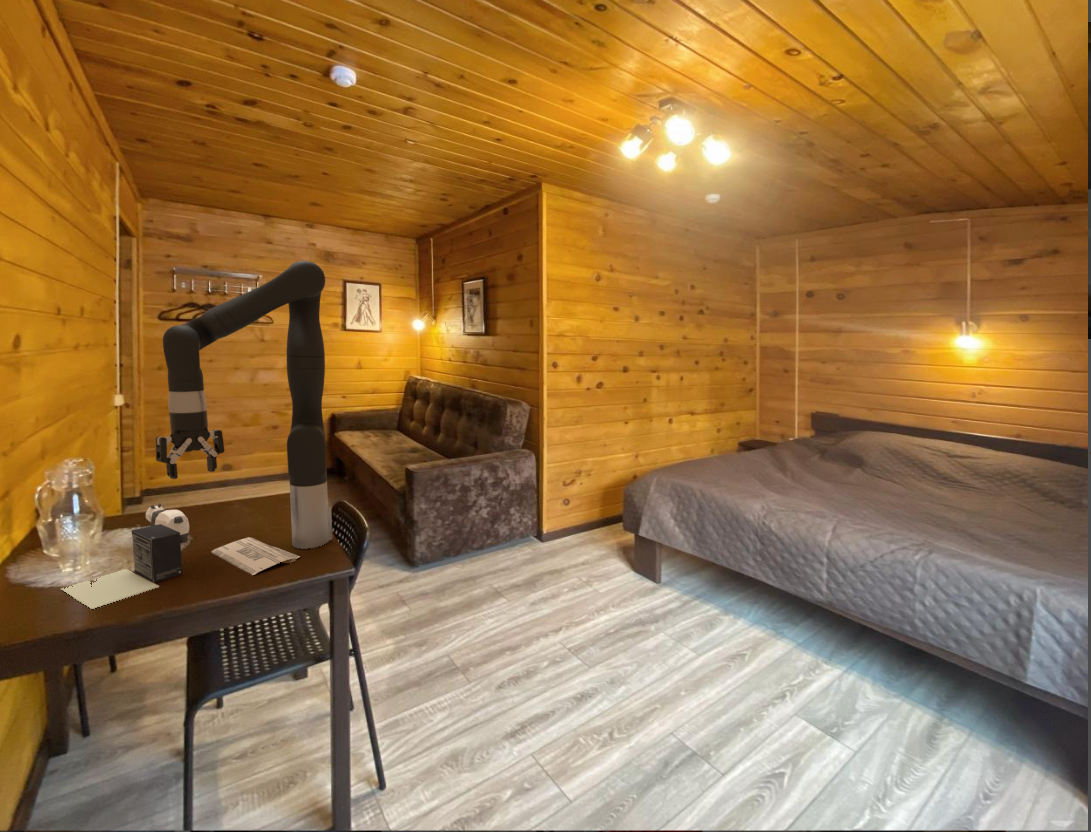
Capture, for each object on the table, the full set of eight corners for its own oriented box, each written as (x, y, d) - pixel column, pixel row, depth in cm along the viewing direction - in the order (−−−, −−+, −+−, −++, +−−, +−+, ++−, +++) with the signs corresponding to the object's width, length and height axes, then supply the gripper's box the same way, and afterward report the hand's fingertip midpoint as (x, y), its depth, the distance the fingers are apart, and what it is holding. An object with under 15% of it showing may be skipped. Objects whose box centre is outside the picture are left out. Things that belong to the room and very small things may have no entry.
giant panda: (192, 541, 143) (190, 507, 141) (170, 548, 138) (168, 513, 136) (161, 531, 149) (158, 499, 147) (139, 538, 144) (136, 504, 142)
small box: (185, 573, 123) (182, 531, 122) (153, 584, 118) (149, 539, 116) (165, 563, 129) (161, 522, 127) (133, 572, 123) (129, 529, 122)
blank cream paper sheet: (126, 570, 124) (126, 568, 124) (159, 587, 116) (159, 585, 116) (60, 590, 114) (60, 588, 114) (91, 610, 106) (91, 608, 106)
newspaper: (303, 561, 133) (302, 552, 132) (254, 583, 123) (253, 573, 123) (258, 539, 146) (257, 531, 145) (211, 558, 136) (209, 549, 135)
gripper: (162, 414, 117) (168, 483, 120) (227, 407, 130) (231, 471, 132) (146, 411, 121) (152, 478, 123) (210, 405, 133) (215, 467, 136)
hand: (193, 474), depth 128 cm, fingers open, 8 cm apart
